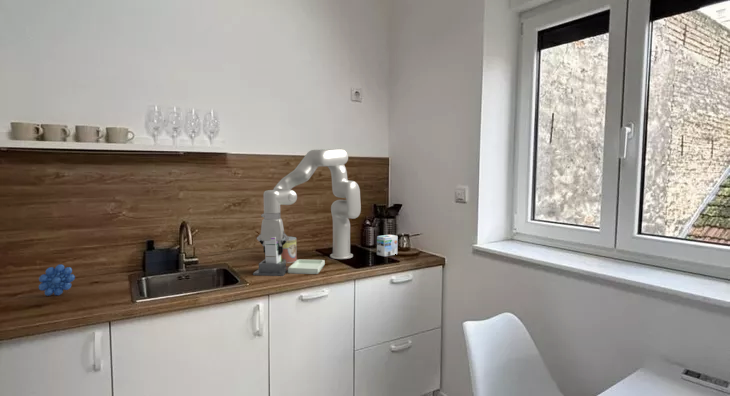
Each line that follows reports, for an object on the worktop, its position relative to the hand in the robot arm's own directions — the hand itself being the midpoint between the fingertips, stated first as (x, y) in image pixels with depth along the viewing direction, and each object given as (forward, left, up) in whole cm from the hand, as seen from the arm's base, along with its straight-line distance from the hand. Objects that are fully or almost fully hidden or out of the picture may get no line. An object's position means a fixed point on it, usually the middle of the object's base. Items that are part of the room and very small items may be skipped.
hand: (273, 253), depth 195 cm
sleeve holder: (0, 0, -8) cm, 9 cm away
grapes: (+42, -72, -9) cm, 84 cm away
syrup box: (0, 0, -6) cm, 6 cm away
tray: (-7, +15, -8) cm, 18 cm away
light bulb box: (-44, +53, -9) cm, 69 cm away
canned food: (-23, 0, -9) cm, 24 cm away
